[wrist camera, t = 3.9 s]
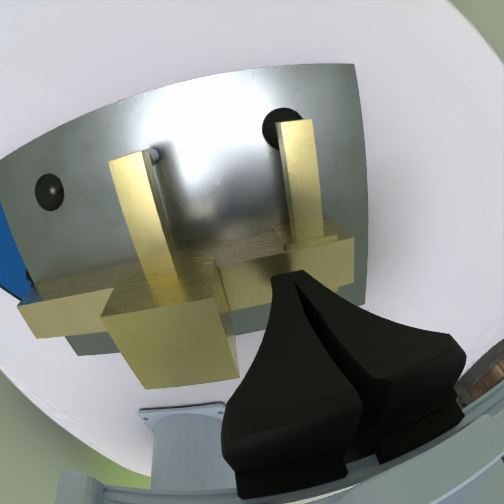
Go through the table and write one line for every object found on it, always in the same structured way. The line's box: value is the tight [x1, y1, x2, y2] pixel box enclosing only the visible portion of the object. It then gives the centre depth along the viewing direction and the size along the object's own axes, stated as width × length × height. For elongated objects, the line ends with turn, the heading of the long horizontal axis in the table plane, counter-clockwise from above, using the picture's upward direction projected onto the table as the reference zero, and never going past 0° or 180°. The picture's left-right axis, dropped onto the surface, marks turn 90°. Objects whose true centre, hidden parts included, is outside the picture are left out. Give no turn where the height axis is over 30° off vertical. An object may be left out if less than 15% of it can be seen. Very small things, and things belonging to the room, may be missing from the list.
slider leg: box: [100, 148, 240, 389], centre depth 11 cm, size 8×4×5 cm, turn 10°
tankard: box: [453, 339, 504, 463], centre depth 20 cm, size 24×17×20 cm
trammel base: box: [0, 64, 368, 356], centre depth 13 cm, size 14×20×3 cm
